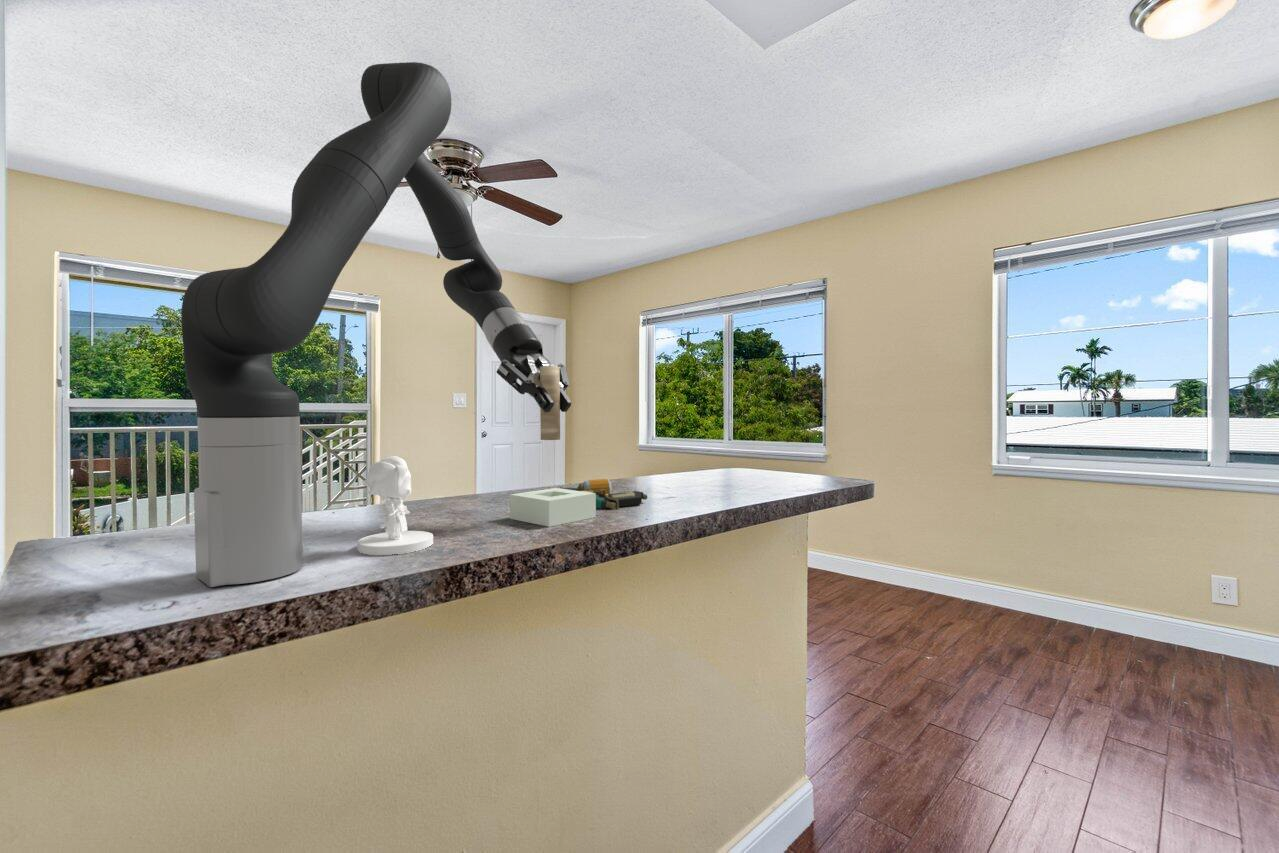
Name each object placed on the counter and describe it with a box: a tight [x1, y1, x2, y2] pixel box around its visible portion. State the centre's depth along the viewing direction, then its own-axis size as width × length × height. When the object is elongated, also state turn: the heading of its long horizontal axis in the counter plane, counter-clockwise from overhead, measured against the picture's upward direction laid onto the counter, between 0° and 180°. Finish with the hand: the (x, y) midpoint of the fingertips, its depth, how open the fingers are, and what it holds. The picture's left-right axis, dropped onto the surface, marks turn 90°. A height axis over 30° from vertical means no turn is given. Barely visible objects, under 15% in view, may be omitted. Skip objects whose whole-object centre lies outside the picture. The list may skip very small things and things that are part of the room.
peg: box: [539, 365, 561, 441], centre depth 93 cm, size 3×3×12 cm
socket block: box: [509, 487, 597, 528], centre depth 93 cm, size 10×10×4 cm
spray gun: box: [559, 478, 648, 510], centre depth 108 cm, size 4×17×15 cm
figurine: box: [357, 455, 434, 556], centre depth 74 cm, size 9×9×12 cm
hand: (558, 408), depth 92 cm, fingers closed on peg, 3 cm apart
